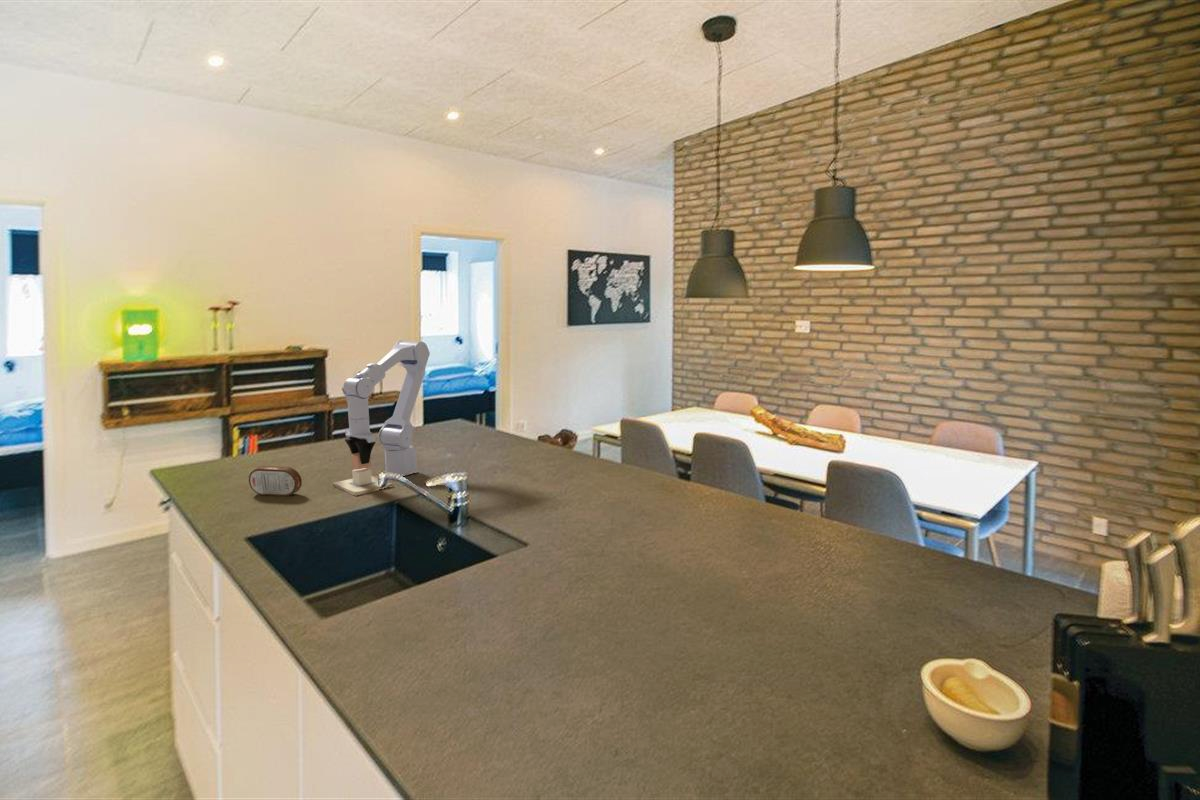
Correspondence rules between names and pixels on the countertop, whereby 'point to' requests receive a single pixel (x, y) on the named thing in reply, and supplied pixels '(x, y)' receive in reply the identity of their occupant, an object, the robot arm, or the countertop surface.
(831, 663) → the countertop surface
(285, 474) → the tin
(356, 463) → the block top
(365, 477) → the block base
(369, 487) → the base board
